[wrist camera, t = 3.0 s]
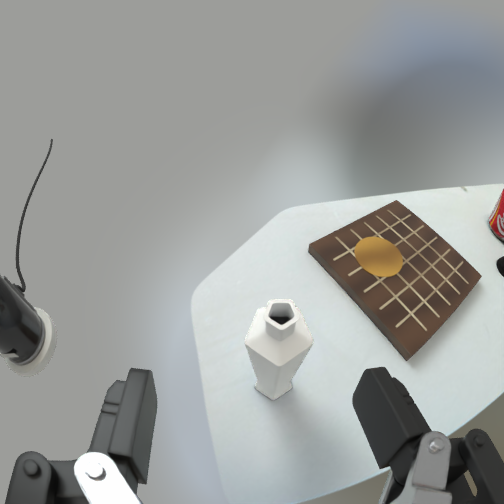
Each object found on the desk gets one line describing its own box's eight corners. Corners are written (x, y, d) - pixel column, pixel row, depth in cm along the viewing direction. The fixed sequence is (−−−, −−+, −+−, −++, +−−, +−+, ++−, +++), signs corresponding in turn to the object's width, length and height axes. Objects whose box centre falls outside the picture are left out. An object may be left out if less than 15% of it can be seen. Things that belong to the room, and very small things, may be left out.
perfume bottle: (250, 403, 26) (240, 349, 15) (252, 364, 29) (244, 284, 18) (295, 403, 26) (323, 349, 15) (295, 364, 29) (316, 285, 18)
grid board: (308, 251, 40) (309, 243, 39) (394, 206, 46) (396, 199, 45) (406, 361, 28) (412, 355, 27) (477, 281, 34) (482, 275, 33)
